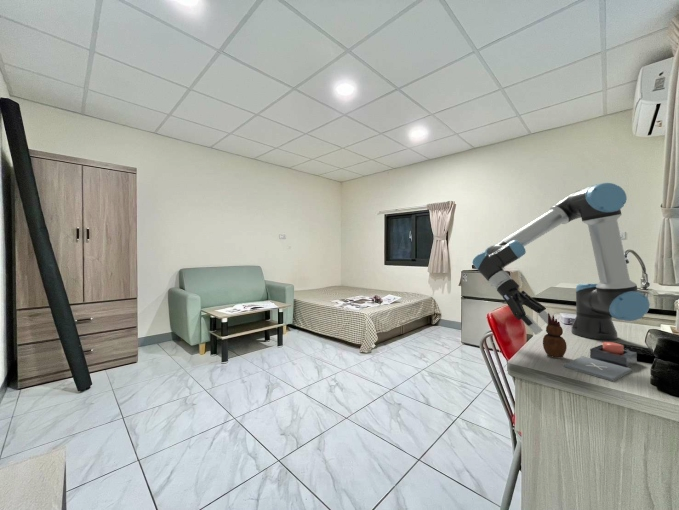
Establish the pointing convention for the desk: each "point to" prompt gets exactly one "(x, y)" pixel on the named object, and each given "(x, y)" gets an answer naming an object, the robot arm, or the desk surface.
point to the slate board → (597, 368)
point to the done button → (613, 348)
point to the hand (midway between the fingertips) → (547, 329)
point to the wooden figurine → (554, 339)
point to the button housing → (614, 357)
